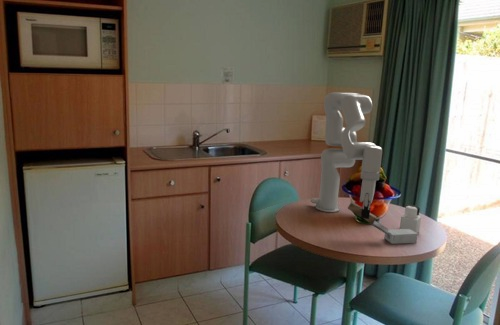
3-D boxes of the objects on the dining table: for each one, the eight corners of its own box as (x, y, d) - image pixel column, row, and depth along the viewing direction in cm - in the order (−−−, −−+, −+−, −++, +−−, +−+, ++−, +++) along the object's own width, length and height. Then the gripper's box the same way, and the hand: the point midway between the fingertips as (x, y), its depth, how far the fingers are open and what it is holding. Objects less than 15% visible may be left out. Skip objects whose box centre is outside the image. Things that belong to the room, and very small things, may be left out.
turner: (347, 209, 181) (350, 203, 180) (348, 206, 185) (352, 200, 184) (386, 234, 177) (390, 228, 176) (387, 230, 181) (391, 225, 180)
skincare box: (391, 244, 178) (416, 243, 180) (392, 234, 177) (418, 233, 180) (383, 238, 184) (408, 237, 186) (385, 229, 183) (409, 228, 185)
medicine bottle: (403, 227, 199) (406, 202, 197) (419, 231, 195) (423, 206, 193) (399, 231, 194) (402, 206, 191) (415, 235, 190) (418, 209, 187)
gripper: (362, 170, 186) (358, 210, 190) (358, 178, 171) (354, 221, 175) (380, 172, 183) (375, 213, 187) (378, 180, 169) (373, 224, 172)
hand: (365, 216), depth 181 cm, fingers closed on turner, 2 cm apart
